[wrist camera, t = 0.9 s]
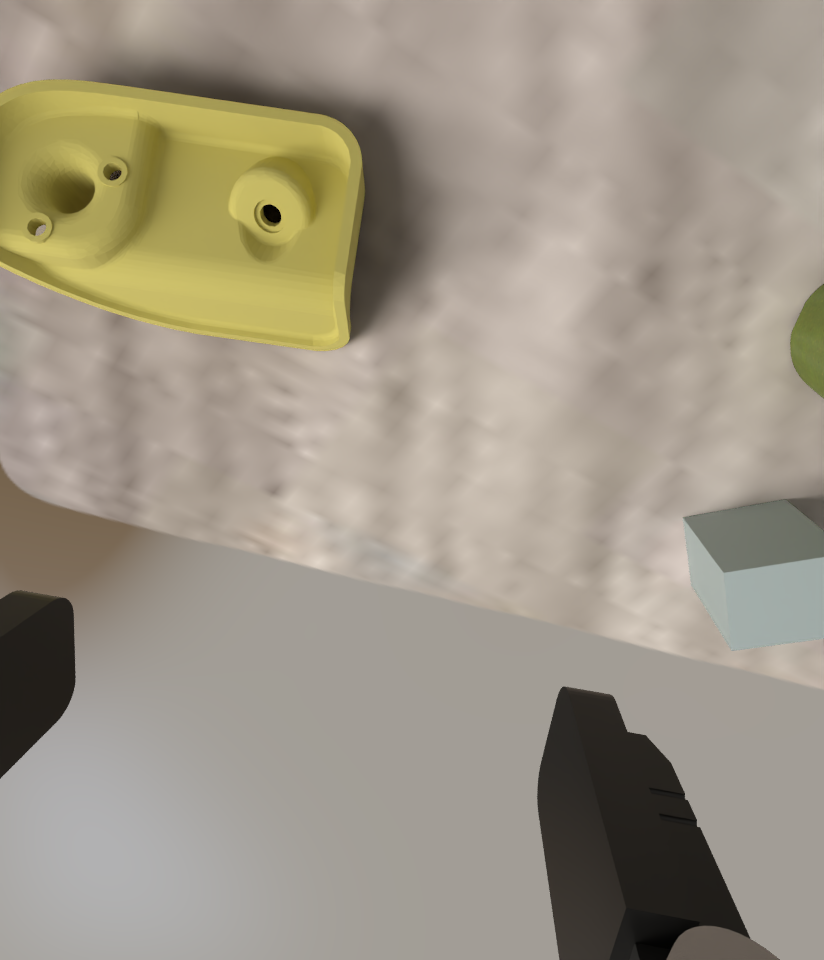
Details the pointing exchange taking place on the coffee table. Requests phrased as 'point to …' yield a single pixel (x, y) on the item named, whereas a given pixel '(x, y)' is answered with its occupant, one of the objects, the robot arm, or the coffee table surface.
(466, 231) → the coffee table surface
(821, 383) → the plant pot
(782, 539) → the block
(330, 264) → the plastic component
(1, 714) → the robot arm
